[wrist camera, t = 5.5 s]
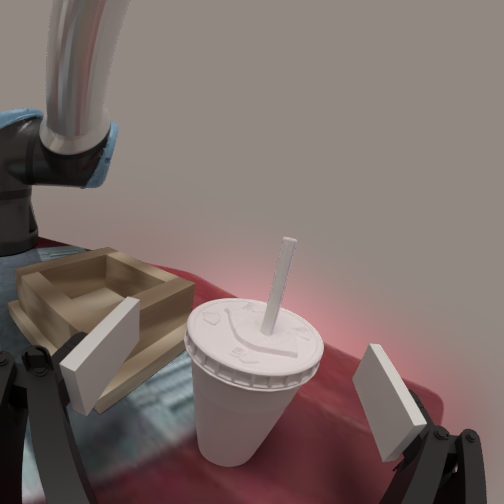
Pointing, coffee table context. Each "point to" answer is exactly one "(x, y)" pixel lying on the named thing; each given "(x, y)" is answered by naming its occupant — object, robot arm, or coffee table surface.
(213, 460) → the smoothie
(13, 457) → the robot arm
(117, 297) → the wooden box
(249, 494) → the coffee table surface
